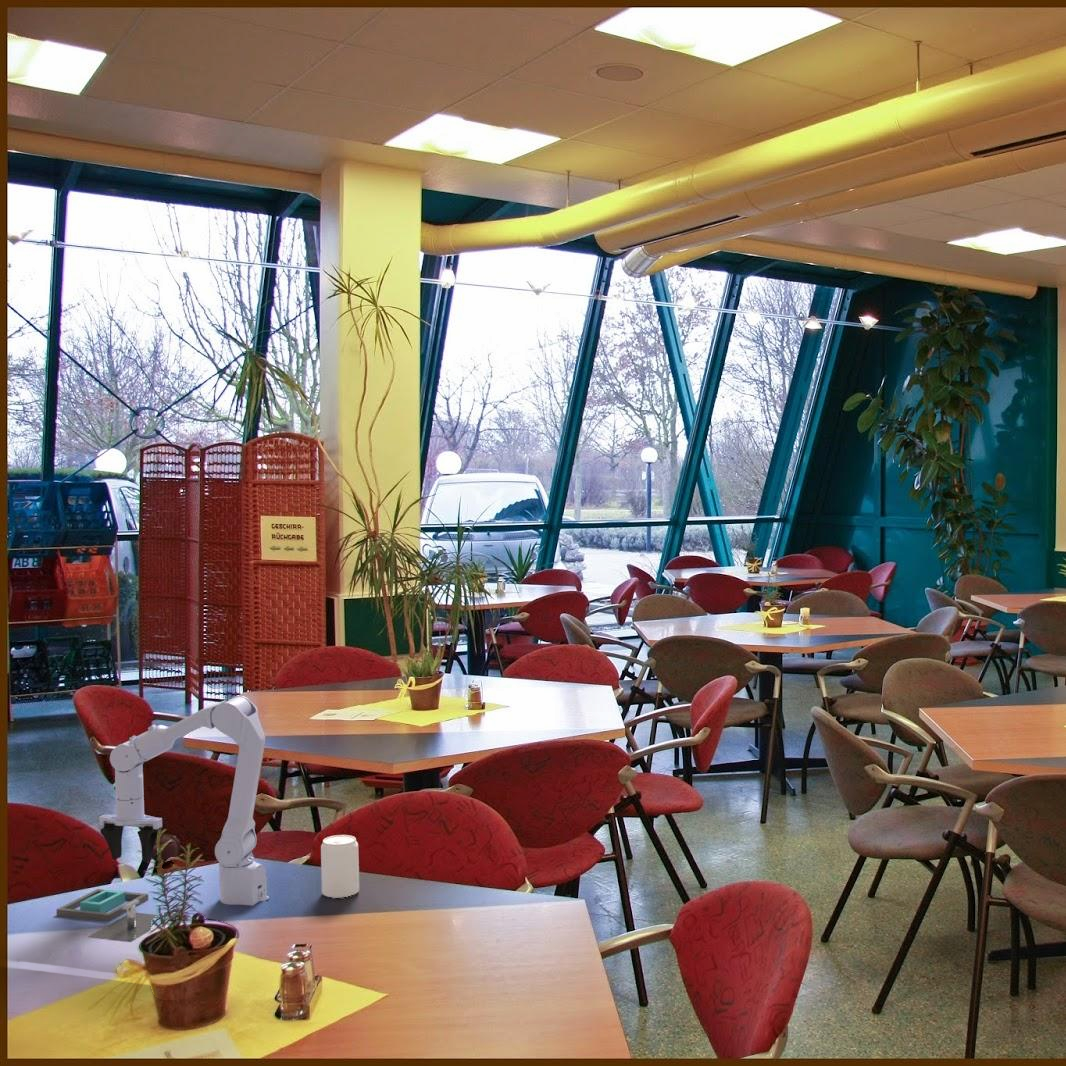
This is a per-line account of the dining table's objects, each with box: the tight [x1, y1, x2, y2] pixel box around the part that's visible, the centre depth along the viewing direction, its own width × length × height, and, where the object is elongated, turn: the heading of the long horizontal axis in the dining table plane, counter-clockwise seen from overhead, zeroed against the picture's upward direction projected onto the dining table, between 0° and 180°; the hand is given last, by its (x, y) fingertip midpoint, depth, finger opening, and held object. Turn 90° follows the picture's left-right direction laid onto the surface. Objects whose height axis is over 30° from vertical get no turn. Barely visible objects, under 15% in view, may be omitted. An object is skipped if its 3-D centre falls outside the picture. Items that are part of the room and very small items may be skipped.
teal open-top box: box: [79, 889, 126, 913], centre depth 243 cm, size 5×9×3 cm, turn 162°
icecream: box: [151, 834, 181, 870], centre depth 278 cm, size 7×7×15 cm
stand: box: [87, 900, 159, 943], centre depth 232 cm, size 10×14×6 cm
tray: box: [55, 888, 149, 922], centre depth 244 cm, size 13×13×2 cm
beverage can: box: [320, 834, 360, 899], centre depth 253 cm, size 8×8×12 cm
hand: (131, 859), depth 250 cm, fingers open, 7 cm apart
